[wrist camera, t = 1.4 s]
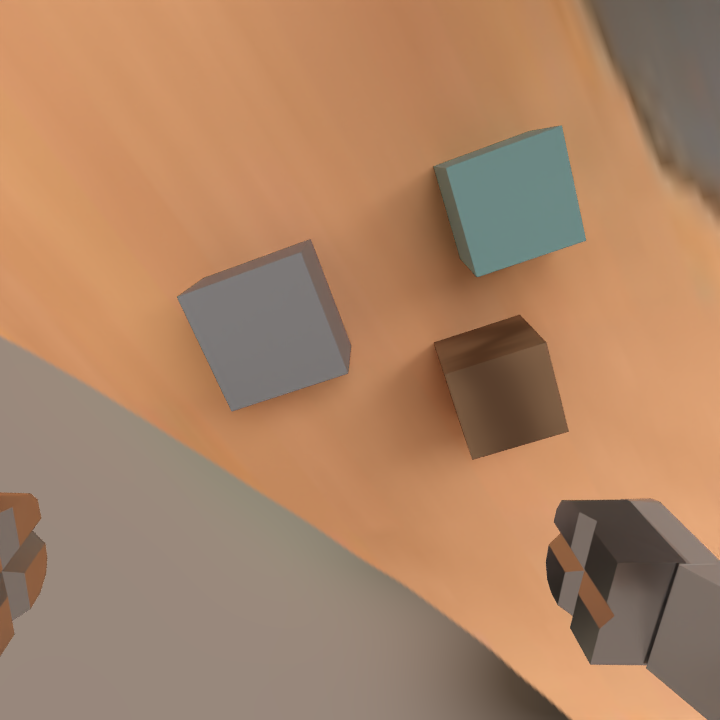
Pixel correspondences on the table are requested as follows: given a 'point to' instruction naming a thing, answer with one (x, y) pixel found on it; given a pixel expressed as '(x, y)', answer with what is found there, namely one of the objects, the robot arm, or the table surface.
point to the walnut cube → (502, 386)
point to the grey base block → (268, 326)
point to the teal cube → (511, 200)
